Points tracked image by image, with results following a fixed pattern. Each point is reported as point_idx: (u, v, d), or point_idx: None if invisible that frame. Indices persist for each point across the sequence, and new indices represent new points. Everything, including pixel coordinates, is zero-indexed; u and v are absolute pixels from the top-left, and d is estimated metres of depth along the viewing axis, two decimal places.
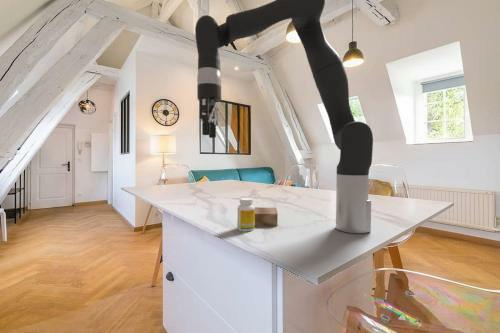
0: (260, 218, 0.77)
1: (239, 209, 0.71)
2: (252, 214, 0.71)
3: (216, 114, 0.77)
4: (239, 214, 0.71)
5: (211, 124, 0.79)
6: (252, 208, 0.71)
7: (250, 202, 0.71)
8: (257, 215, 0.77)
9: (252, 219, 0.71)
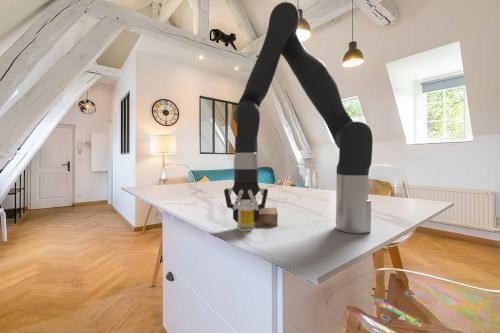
0: (260, 218, 0.77)
1: (239, 209, 0.71)
2: (252, 214, 0.71)
3: None
4: (239, 214, 0.71)
5: (236, 207, 0.73)
6: (252, 208, 0.71)
7: (250, 202, 0.71)
8: None
9: (252, 219, 0.71)
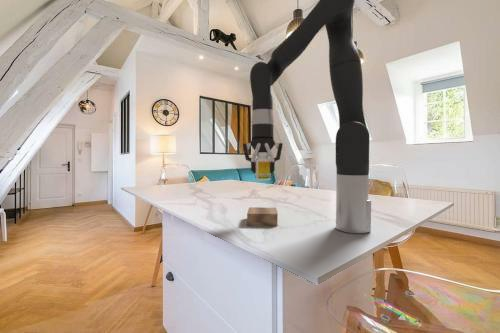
0: (260, 218, 0.77)
1: (257, 161, 0.79)
2: (268, 165, 0.79)
3: None
4: (257, 165, 0.79)
5: None
6: (268, 160, 0.79)
7: (266, 154, 0.79)
8: (257, 215, 0.77)
9: (268, 170, 0.79)
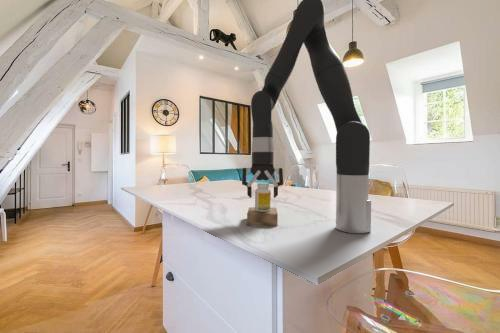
0: (260, 218, 0.77)
1: (257, 192, 0.80)
2: (268, 196, 0.80)
3: None
4: (257, 196, 0.80)
5: (250, 184, 0.81)
6: (268, 191, 0.80)
7: (267, 186, 0.80)
8: (257, 215, 0.77)
9: (268, 201, 0.80)
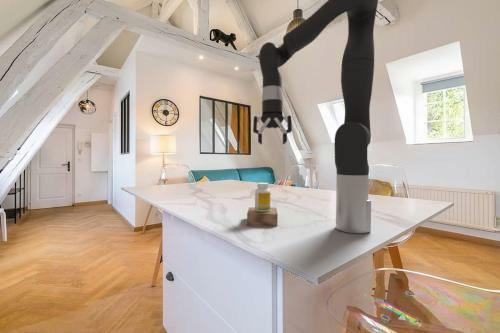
0: (260, 218, 0.77)
1: (257, 192, 0.80)
2: (268, 196, 0.80)
3: (264, 124, 0.89)
4: (257, 196, 0.80)
5: None
6: (268, 191, 0.80)
7: (267, 186, 0.80)
8: (257, 215, 0.77)
9: (268, 201, 0.80)
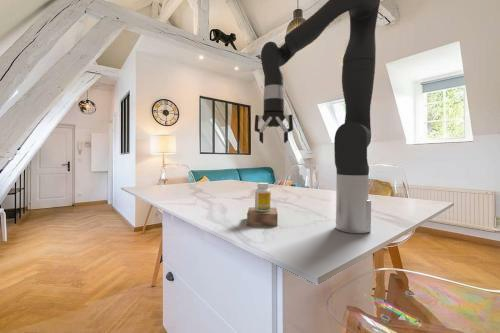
0: (260, 218, 0.77)
1: (257, 192, 0.80)
2: (268, 196, 0.80)
3: None
4: (257, 196, 0.80)
5: (262, 131, 0.88)
6: (268, 191, 0.80)
7: (267, 186, 0.80)
8: (257, 215, 0.77)
9: (268, 201, 0.80)
